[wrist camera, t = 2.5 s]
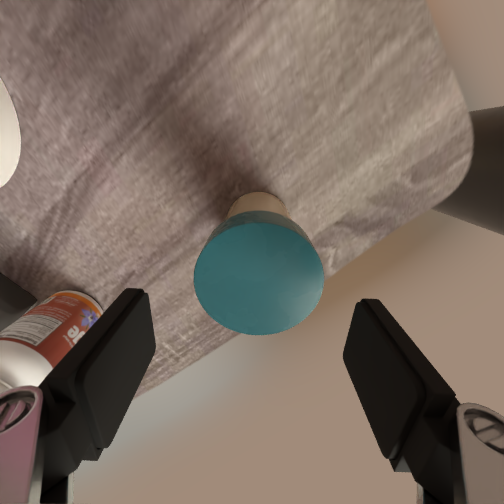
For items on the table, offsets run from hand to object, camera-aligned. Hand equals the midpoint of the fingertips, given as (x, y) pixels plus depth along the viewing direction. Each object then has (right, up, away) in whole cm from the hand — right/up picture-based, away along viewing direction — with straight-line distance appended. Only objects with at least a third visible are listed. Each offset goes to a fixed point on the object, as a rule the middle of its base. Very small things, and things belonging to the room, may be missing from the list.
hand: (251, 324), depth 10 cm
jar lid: (0, +1, +3) cm, 3 cm away
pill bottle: (-19, -4, +17) cm, 26 cm away
